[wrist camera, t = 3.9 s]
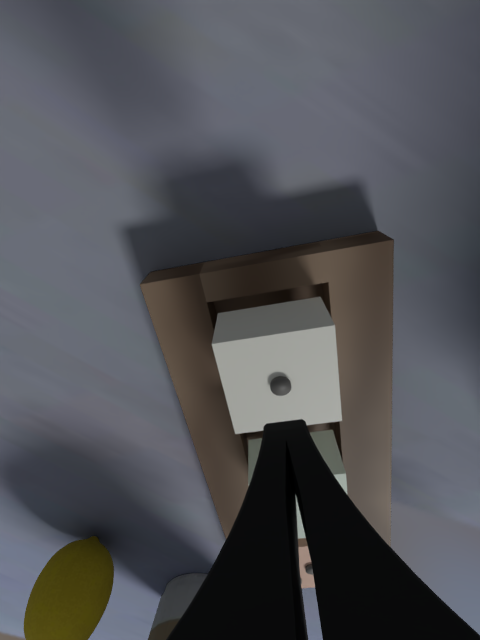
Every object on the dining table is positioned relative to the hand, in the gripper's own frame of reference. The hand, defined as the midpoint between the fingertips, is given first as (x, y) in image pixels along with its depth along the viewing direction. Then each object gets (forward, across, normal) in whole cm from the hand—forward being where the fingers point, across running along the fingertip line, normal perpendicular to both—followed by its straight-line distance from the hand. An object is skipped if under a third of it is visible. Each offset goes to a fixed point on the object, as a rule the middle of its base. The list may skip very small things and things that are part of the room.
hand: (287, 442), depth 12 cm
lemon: (+9, +18, +18) cm, 27 cm away
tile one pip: (+6, 0, 0) cm, 6 cm away
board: (+9, 0, +8) cm, 12 cm away
